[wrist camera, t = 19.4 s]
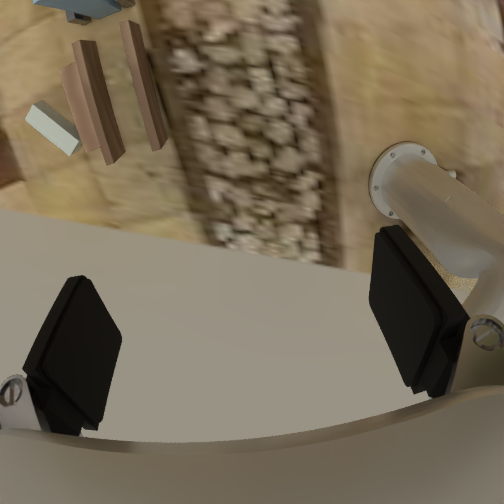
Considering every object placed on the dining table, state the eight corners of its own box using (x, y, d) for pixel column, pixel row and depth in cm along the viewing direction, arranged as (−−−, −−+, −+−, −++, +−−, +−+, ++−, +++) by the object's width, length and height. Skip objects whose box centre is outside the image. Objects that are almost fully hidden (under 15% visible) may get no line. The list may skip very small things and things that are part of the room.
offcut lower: (90, 58, 30) (82, 58, 27) (114, 138, 36) (108, 143, 34) (67, 69, 30) (58, 70, 28) (92, 147, 36) (85, 152, 34)
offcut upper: (33, 104, 29) (24, 119, 30) (78, 141, 33) (69, 156, 34) (43, 100, 31) (35, 115, 32) (87, 135, 35) (78, 149, 36)
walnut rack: (139, 24, 28) (128, 19, 24) (167, 139, 37) (160, 149, 33) (88, 44, 28) (71, 43, 24) (118, 153, 37) (106, 165, 33)
